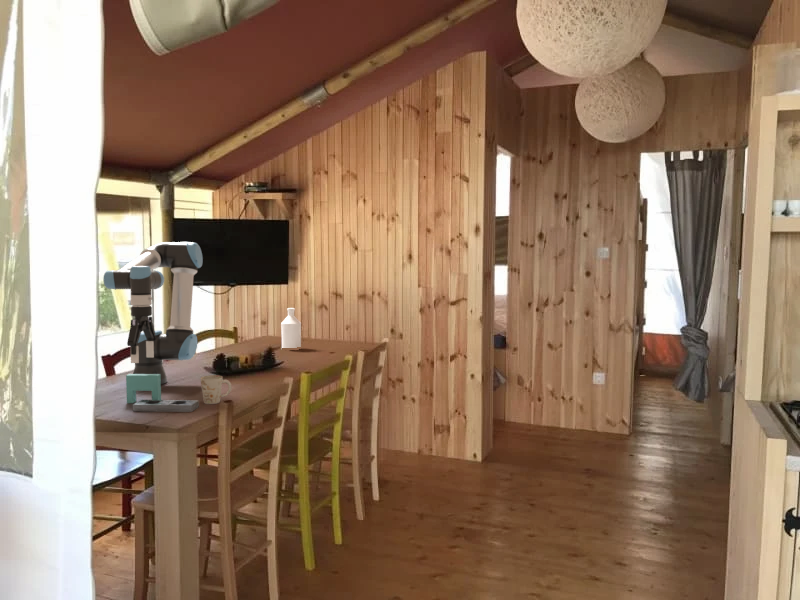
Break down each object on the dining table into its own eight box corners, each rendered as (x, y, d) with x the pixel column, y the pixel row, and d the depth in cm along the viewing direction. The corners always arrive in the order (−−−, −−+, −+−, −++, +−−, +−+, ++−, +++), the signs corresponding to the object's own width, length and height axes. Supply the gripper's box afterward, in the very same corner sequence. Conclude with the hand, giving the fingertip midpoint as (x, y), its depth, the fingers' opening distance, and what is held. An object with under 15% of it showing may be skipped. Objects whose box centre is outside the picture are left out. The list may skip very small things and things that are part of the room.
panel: (126, 403, 254) (126, 375, 253) (130, 401, 257) (129, 373, 256) (158, 403, 253) (157, 375, 252) (161, 401, 256) (160, 374, 255)
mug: (197, 402, 255) (196, 377, 255) (225, 397, 264) (225, 373, 263) (207, 405, 250) (206, 380, 249) (236, 400, 258) (236, 375, 258)
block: (132, 411, 241) (132, 404, 241) (142, 406, 249) (142, 399, 249) (191, 411, 240) (191, 405, 240) (198, 406, 248) (198, 400, 248)
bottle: (294, 347, 401) (294, 307, 399) (305, 349, 392) (304, 308, 390) (277, 349, 393) (277, 308, 391) (287, 351, 384) (287, 309, 382)
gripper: (136, 308, 240) (137, 365, 241) (163, 303, 264) (165, 355, 266) (116, 308, 240) (118, 365, 241) (145, 303, 265) (147, 355, 266)
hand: (142, 360), depth 254 cm, fingers open, 13 cm apart
